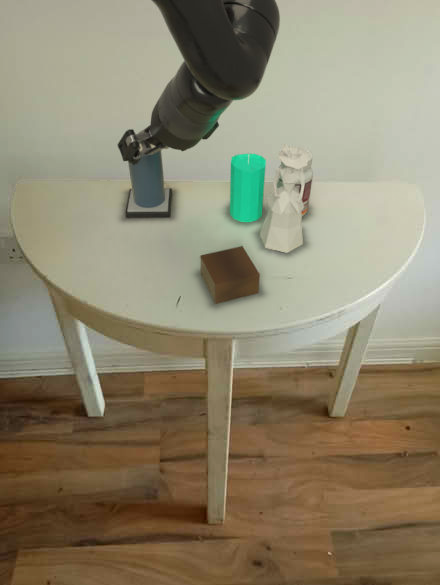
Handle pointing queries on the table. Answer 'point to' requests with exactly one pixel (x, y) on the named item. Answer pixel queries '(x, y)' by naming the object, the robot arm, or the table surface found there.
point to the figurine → (285, 204)
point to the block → (229, 274)
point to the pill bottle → (307, 180)
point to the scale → (153, 212)
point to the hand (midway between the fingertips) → (156, 151)
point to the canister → (148, 180)
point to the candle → (247, 187)
